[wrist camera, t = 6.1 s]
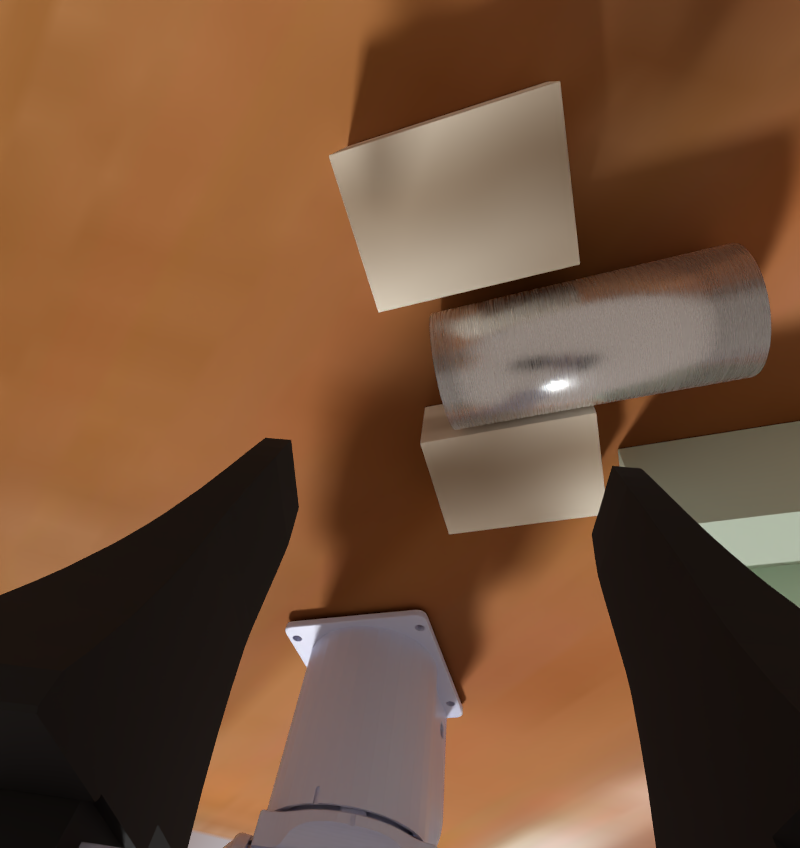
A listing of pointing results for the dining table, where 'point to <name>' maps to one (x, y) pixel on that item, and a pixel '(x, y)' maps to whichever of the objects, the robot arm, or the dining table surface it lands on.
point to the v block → (737, 494)
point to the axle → (604, 338)
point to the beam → (479, 285)
